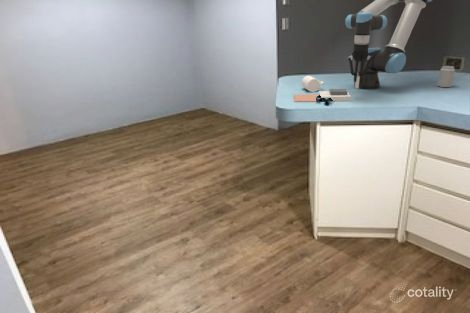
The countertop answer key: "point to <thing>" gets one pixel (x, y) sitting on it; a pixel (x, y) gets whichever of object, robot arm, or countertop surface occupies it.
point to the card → (338, 91)
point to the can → (446, 76)
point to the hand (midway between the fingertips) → (356, 87)
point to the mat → (305, 98)
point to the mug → (311, 83)
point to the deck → (335, 96)
